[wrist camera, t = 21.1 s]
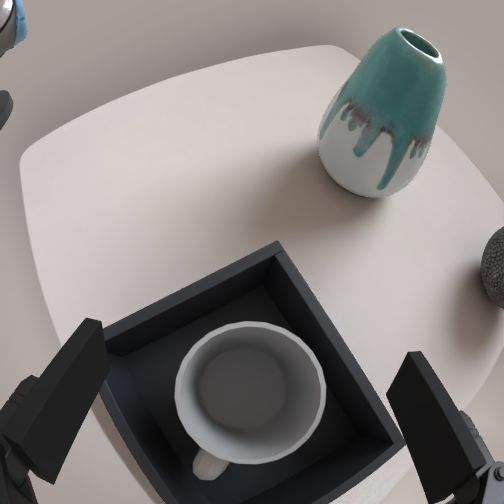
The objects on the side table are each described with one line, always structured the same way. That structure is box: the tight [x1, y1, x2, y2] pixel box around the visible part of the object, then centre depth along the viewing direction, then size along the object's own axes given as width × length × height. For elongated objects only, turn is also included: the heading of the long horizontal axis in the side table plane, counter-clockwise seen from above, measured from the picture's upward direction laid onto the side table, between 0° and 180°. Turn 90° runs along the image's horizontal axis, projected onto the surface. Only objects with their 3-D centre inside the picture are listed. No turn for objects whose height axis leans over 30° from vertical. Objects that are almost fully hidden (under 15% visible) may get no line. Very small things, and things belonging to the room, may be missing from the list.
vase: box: [317, 27, 447, 198], centre depth 24 cm, size 12×12×18 cm
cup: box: [175, 321, 326, 480], centre depth 16 cm, size 7×10×9 cm
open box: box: [99, 241, 406, 504], centre depth 18 cm, size 17×15×7 cm
